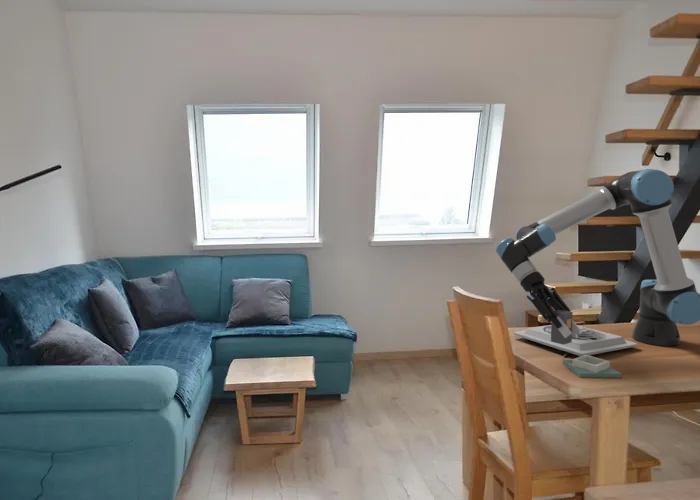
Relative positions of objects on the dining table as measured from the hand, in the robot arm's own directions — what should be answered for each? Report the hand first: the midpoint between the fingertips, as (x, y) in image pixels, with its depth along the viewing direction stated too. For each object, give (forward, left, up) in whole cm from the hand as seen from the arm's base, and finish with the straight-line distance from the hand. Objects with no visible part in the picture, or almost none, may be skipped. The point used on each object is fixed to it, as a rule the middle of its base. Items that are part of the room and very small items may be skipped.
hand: (572, 334), depth 153 cm
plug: (+2, -3, -3) cm, 5 cm away
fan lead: (-3, -10, -10) cm, 14 cm away
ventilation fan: (-10, -22, -10) cm, 26 cm away
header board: (-3, +6, -10) cm, 12 cm away
